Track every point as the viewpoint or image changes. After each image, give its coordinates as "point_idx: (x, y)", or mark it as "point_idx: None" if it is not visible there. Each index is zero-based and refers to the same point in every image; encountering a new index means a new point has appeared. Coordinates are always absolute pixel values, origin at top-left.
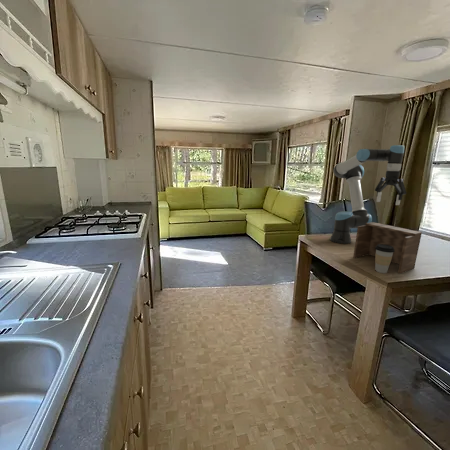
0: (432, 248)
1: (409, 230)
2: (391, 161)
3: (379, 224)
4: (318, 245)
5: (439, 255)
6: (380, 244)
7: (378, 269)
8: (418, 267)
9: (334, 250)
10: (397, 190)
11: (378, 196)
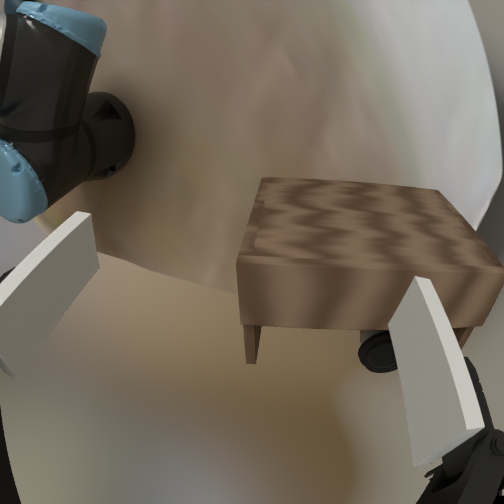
0: None
1: (465, 290)
2: None
3: (304, 292)
4: (123, 258)
5: None
6: (370, 354)
7: None
8: (445, 168)
9: (182, 257)
10: None
11: (53, 323)
